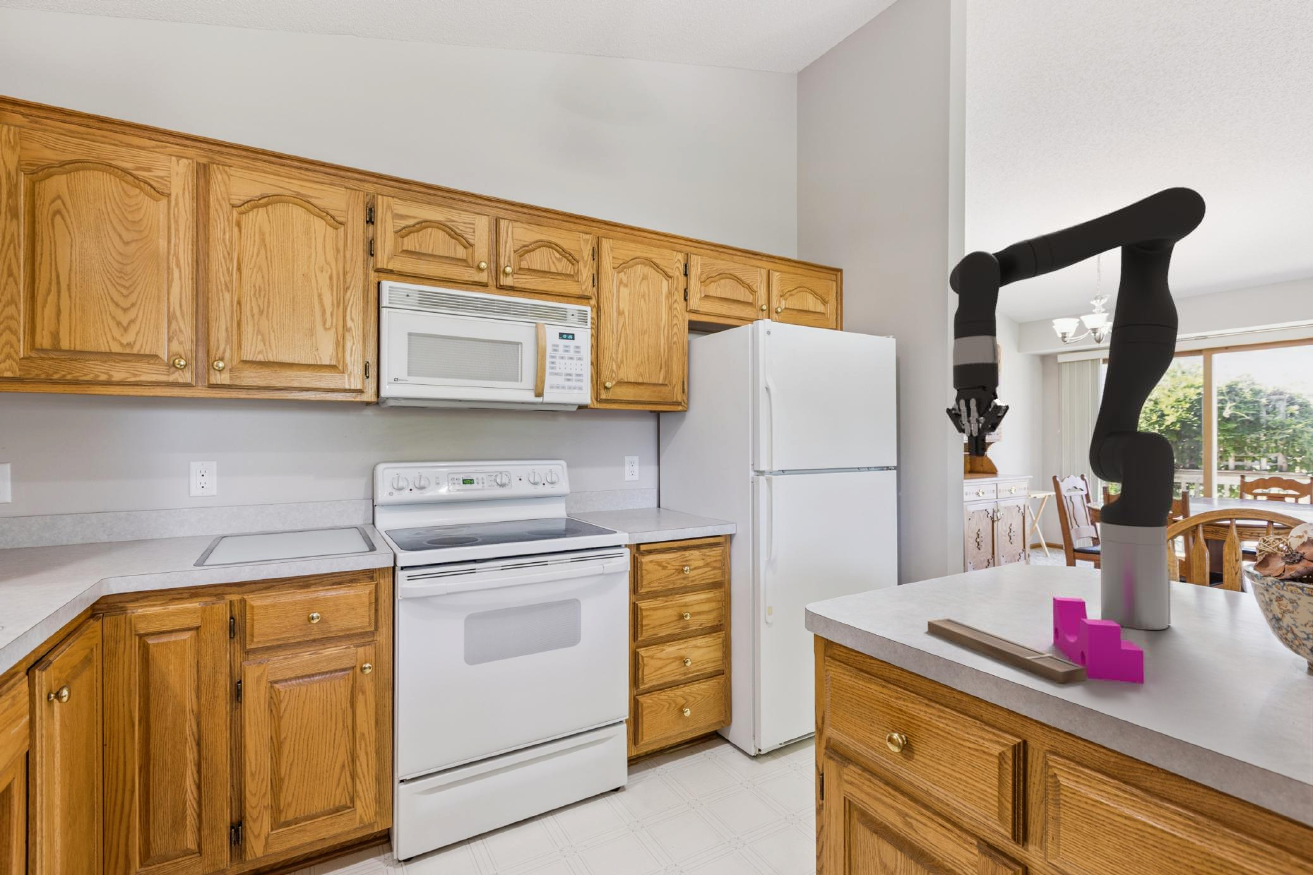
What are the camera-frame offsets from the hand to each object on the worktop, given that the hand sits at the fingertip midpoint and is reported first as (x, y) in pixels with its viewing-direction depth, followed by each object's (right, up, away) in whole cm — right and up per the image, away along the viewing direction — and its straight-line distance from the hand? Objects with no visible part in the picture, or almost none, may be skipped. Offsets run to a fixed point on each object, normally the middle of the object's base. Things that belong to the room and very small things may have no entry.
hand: (976, 456), depth 115 cm
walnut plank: (-8, -29, -22) cm, 37 cm away
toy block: (+4, -29, -26) cm, 39 cm away
